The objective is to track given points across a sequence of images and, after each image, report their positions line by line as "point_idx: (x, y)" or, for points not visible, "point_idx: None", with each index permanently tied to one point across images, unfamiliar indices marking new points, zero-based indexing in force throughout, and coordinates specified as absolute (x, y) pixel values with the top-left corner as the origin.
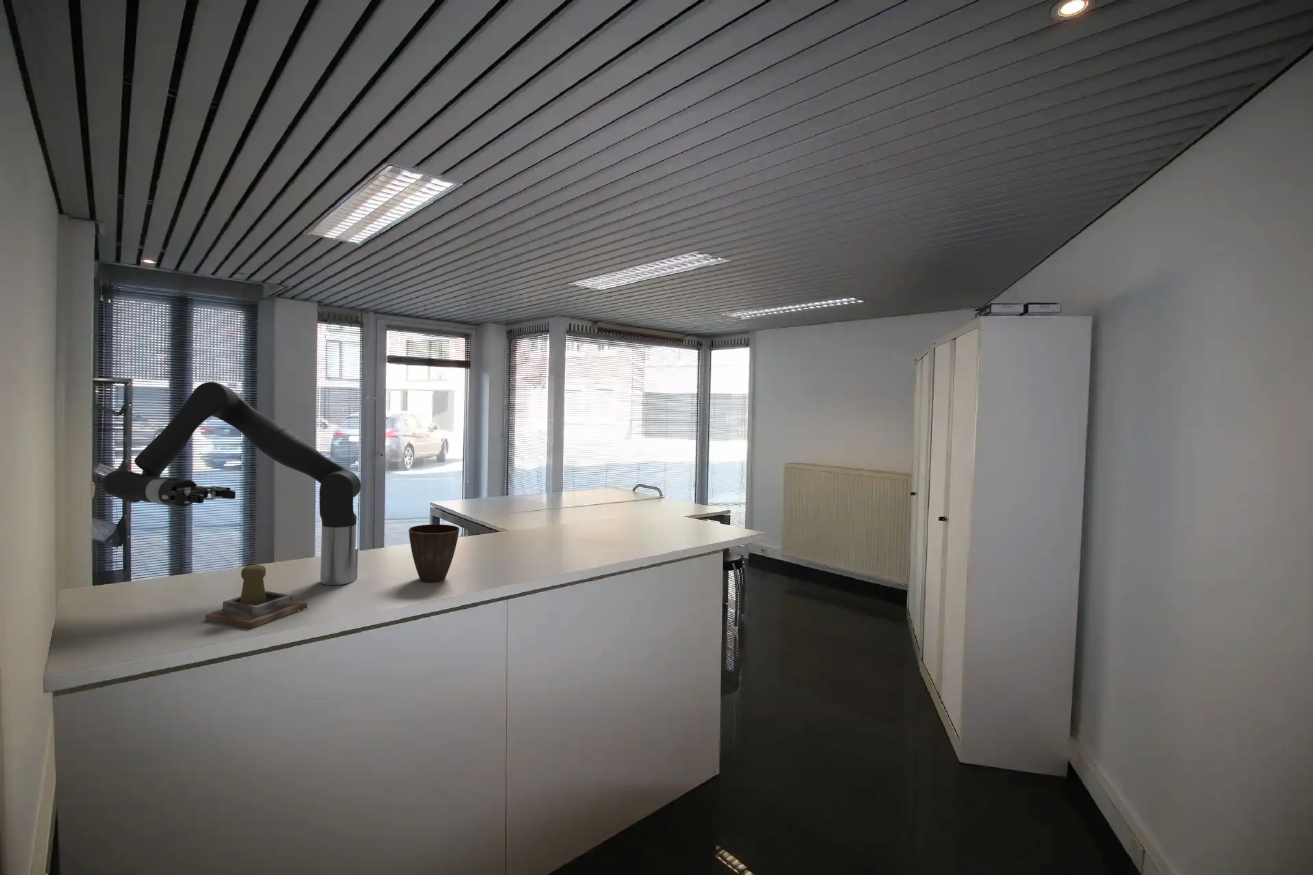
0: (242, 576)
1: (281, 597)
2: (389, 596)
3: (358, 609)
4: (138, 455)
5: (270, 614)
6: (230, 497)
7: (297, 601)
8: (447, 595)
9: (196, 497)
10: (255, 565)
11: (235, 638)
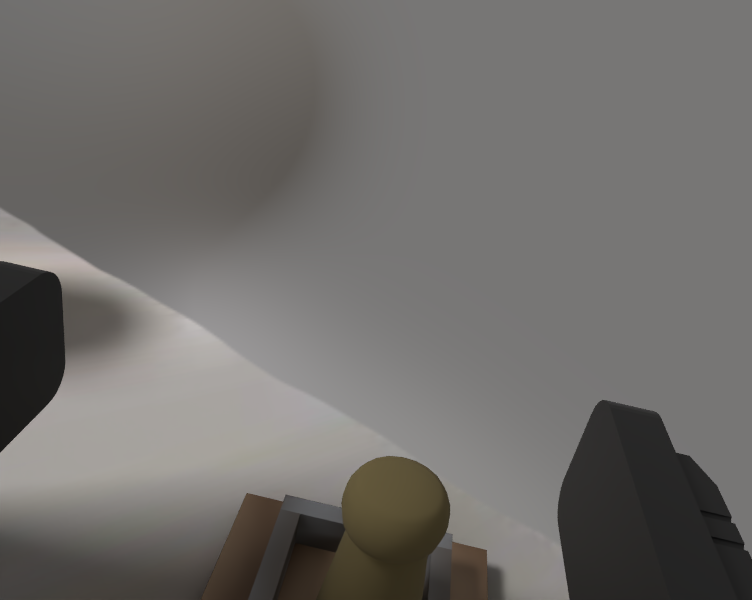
0: (443, 536)
1: (319, 516)
2: (96, 360)
3: (235, 391)
4: None
5: None
6: (28, 397)
7: (235, 527)
8: (95, 273)
9: (692, 478)
10: (397, 476)
11: (559, 562)
